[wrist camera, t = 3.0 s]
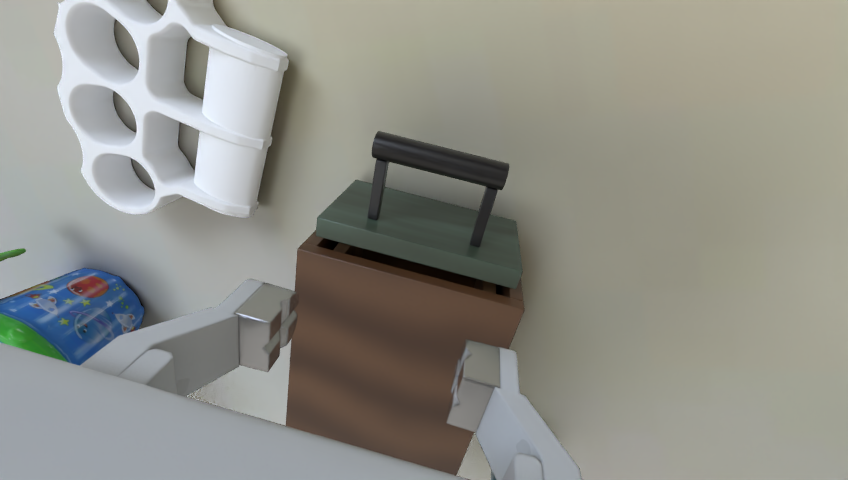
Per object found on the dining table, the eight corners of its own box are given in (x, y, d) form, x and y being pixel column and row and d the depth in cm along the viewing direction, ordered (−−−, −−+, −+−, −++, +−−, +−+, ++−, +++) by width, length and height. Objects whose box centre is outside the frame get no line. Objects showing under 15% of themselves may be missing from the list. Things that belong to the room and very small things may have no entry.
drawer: (365, 107, 25) (325, 126, 19) (541, 151, 25) (556, 185, 19) (332, 353, 35) (299, 417, 29) (457, 388, 34) (449, 460, 28)
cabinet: (348, 195, 29) (297, 248, 21) (516, 238, 28) (524, 309, 21) (327, 366, 37) (284, 449, 29) (457, 403, 36) (447, 497, 29)
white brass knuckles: (256, 240, 32) (86, 166, 31) (309, 0, 24) (79, -106, 23) (232, 260, 29) (43, 179, 28) (283, -7, 21) (18, -129, 20)
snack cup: (193, 359, 40) (105, 452, 31) (111, 364, 42) (6, 451, 33) (112, 217, 33) (-30, 281, 24) (21, 232, 36) (-139, 295, 27)
